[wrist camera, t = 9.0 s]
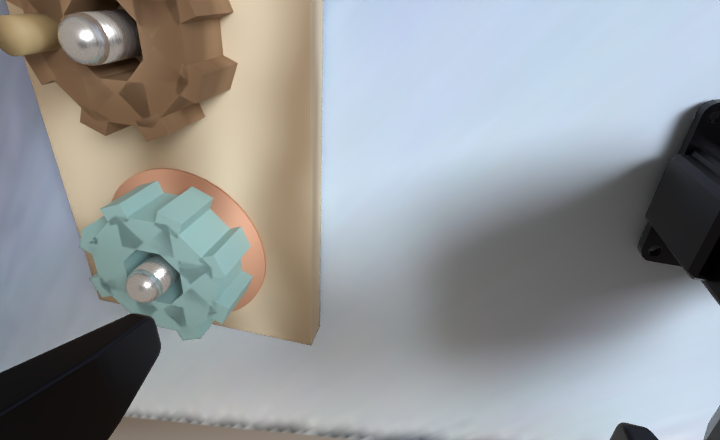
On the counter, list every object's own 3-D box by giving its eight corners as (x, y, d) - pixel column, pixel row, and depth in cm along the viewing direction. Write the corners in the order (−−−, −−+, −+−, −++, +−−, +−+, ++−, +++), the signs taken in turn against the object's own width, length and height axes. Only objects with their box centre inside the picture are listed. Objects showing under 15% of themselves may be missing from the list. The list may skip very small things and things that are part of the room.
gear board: (324, -120, 14) (307, -132, 13) (319, 326, 24) (309, 348, 23) (2, -127, 17) (-43, -138, 15) (117, 284, 26) (97, 301, 25)
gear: (226, -78, 14) (149, -97, 11) (243, 131, 18) (188, 166, 14) (44, -86, 16) (-78, -105, 12) (94, 111, 19) (11, 139, 16)
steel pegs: (165, 9, 16) (83, 16, 13) (204, 262, 22) (154, 313, 18) (128, 6, 16) (37, 11, 13) (175, 256, 22) (121, 306, 19)
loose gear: (247, 195, 19) (218, 222, 17) (256, 317, 23) (233, 352, 20) (106, 172, 20) (62, 194, 18) (135, 291, 24) (102, 321, 22)
